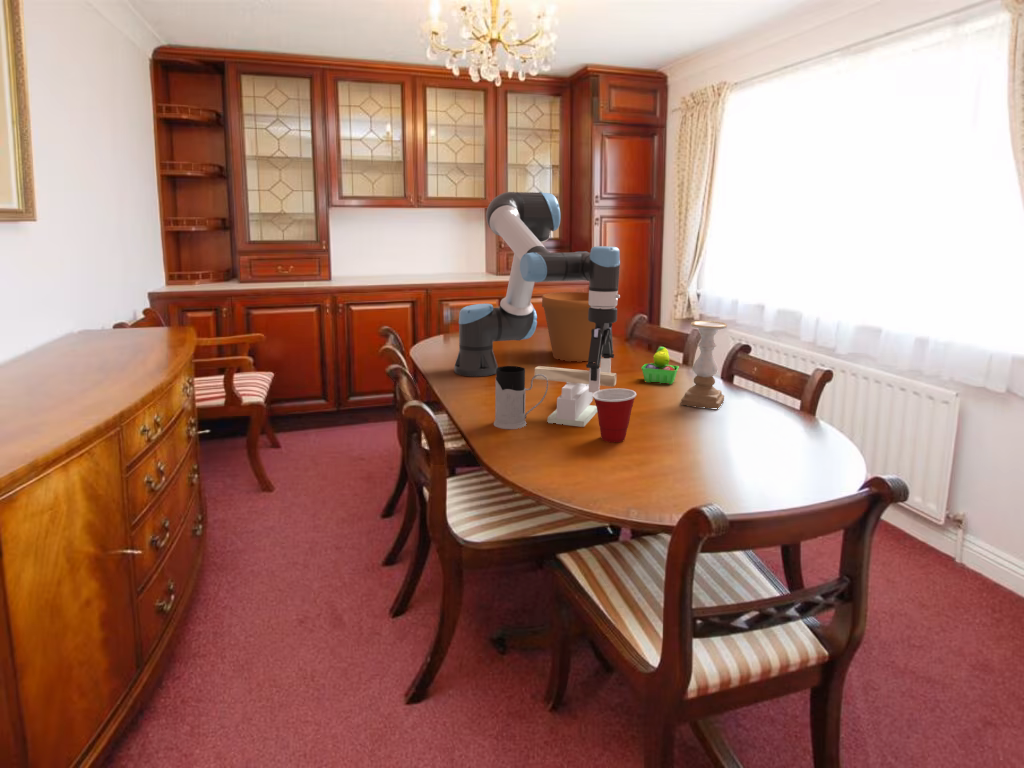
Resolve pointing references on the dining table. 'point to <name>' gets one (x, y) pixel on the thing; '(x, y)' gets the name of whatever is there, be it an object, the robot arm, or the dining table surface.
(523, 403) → the glass holder
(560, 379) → the birch batten
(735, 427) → the dining table surface
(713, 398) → the candle holder
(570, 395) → the ridge stand
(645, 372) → the fruit basket
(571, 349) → the flowerpot
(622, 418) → the plastic cup
